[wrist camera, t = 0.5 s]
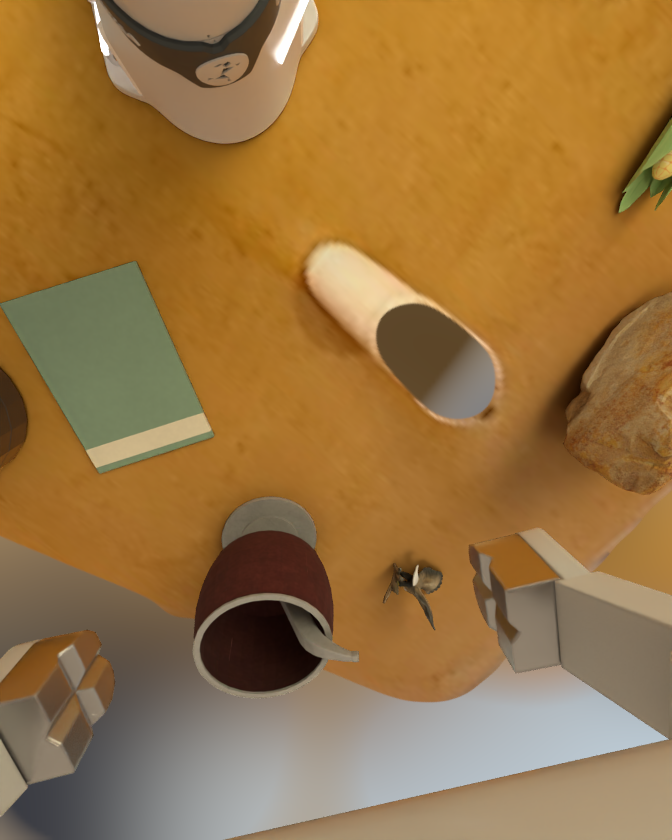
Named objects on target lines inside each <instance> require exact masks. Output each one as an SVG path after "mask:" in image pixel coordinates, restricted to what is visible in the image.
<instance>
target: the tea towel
mask: <svg viewBox="0 0 672 840" xmlns="http://www.w3.org/2000/svg"><path fill="white" fill-rule="evenodd" d="M0 306H1V308H2V309H3V311H4V313H5V314H6V316H7V318H8V320H9V321H10V323H11V325H12V326H13V328H14V330H15V331H16V333H17V335H18V336H19V338H20V340H21V342H22V343H23V345H24V347H25V348H26V350H27V352H28V353H29V355H30V357H31V358H32V360H33V362H34V364H35V365H36V367H37V369H38V370H39V372H40V374H41V375H42V377H43V379H44V381H45V382H46V384H47V386H48V387H49V389H50V391H51V392H52V394H53V396H54V397H55V399H56V401H57V403H58V404H59V406H60V408H61V409H62V411H63V413H64V414H65V416H66V418H67V419H68V421H69V423H70V425H71V426H72V428H73V430H74V431H75V433H76V435H77V436H78V438H79V440H80V441H81V443H82V445H83V447H84V448H85V450H86V452H87V454H88V455H89V457H90V459H91V460H92V462H93V464H94V466H95V467H96V469H97V470H98V472H99V473H103V472H106V471H109V470H112V469H115V468H119V467H122V466H125V465H128V464H131V463H134V462H137V461H140V460H143V459H147V458H150V457H153V456H156V455H159V454H162V453H165V452H168V451H171V450H174V449H178V448H181V447H184V446H187V445H190V444H193V443H196V442H199V441H202V440H205V439H209V438H212V437H214V433H213V431H212V429H211V427H210V424H209V422H208V420H207V418H206V416H205V413H204V411H203V409H202V407H201V404H200V402H199V400H198V398H197V395H196V393H195V391H194V389H193V387H192V384H191V382H190V380H189V378H188V375H187V373H186V371H185V369H184V366H183V364H182V362H181V360H180V358H179V355H178V353H177V351H176V349H175V346H174V344H173V342H172V340H171V337H170V335H169V333H168V331H167V329H166V326H165V324H164V322H163V320H162V317H161V315H160V313H159V311H158V308H157V306H156V304H155V302H154V300H153V297H152V295H151V293H150V291H149V288H148V286H147V284H146V282H145V279H144V277H143V275H142V273H141V271H140V268H139V266H138V264H137V262H136V261H133V262H130V263H127V264H124V265H121V266H117V267H114V268H111V269H108V270H105V271H102V272H98V273H95V274H92V275H89V276H86V277H83V278H79V279H76V280H73V281H70V282H67V283H64V284H60V285H57V286H54V287H51V288H48V289H45V290H41V291H38V292H35V293H32V294H29V295H25V296H22V297H19V298H16V299H13V300H10V301H6V302H3V303H0Z"/></svg>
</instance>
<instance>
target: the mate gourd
mask: <svg viewBox="0 0 672 840" xmlns="http://www.w3.org/2000/svg"><path fill="white" fill-rule="evenodd" d="M315 544H316V529H315V525H314V522H313V520H312V518H311V516H310V515H309V513H308V512H307V511H306V510H305V509H304V508H303V507H301V506H300V505H299V504H297V503H295V502H293V501H291V500H288V499H285V498H281V497H261V498H257V499H253V500H251V501H248V502H246V503H244V504H242V505H241V506H240V507H238V508H237V509H236V510H235V511H234V512H233V513H232V514H231V515H230V516H229V518H228V519H227V521H226V523H225V526H224V529H223V533H222V546H223V550H222V551H221V553H220V554H219V556H218V557H217V559H216V560H215V562H214V563H213V565H212V566H211V568H210V570H209V572H208V574H207V576H206V578H205V580H204V583H203V586H202V589H201V592H200V596H199V599H198V603H197V607H196V615H195V627H194V646H193V656H194V662H195V664H196V666H197V668H198V671H199V672H200V673H201V675H202V676H203V677H204V678H205V680H206V681H208V682H209V683H210V684H212V685H213V686H214V687H216V688H218V689H220V690H222V691H224V692H226V693H229V694H232V695H235V696H240V697H247V698H267V697H275V696H279V695H283V694H287V693H289V692H292V691H294V690H297V689H299V688H300V687H302V686H304V685H305V684H307V683H309V682H310V681H311V680H312V679H313V678H315V677H316V676H317V675H318V674H319V673H320V672H321V670H322V669H323V668H324V667H325V665H326V663H327V661H328V659H330V660H338V661H347V662H348V661H352V662H359V651H349V650H347V649H344V648H342V647H340V646H338V645H337V644H335V643H333V642H332V635H333V600H332V593H331V587H330V584H329V580H328V577H327V574H326V571H325V569H324V566H323V564H322V562H321V560H320V559H319V557H318V555H317V553H316V551H315V550H314V548H315Z"/></svg>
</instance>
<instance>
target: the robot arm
mask: <svg viewBox="0 0 672 840" xmlns="http://www.w3.org/2000/svg"><path fill="white" fill-rule="evenodd" d="M87 1H88V2H90V3H91V5H92V9H93V14H94V18H95V22H96V26H97V31H98V35H99V39H100V44H101V51H102V52H103V56H104V60H105V64H106V68H107V72H108V75H109V77H110V79H111V81H112V82H113V84H114V86H115V87H116V88H117V89H118V90H119V91H121V92H122V93H124V94H126V95H128V96H130V97H133V98H135V99H138V100H140V101H143V102H146V103H149V104H150V105H151V106H153V107H154V108H155V109H157V110H158V111H159V112H160V113H161V114H162V115H163V116H164V117H166V118H167V119H168V120H169V121H170V122H171V123H172V124H174V125H175V126H176V127H178V128H179V129H181V130H182V131H184V132H186V133H187V134H189V135H191V136H193V137H196V138H198V139H201V140H204V141H208V142H213V143H221V144H229V143H237V142H241V141H245V140H248V139H250V138H253V137H255V136H256V135H258V134H260V133H261V132H263V131H264V130H266V129H267V128H268V127H269V126H270V125H271V124H272V123H273V122H274V121H275V120H276V119H277V118H278V116H279V115H280V113H281V112H282V110H283V109H284V107H285V105H286V103H287V101H288V99H289V97H290V94H291V91H292V88H293V85H294V81H295V76H296V72H297V67H298V64H299V60H300V58H301V55H302V54H303V53H304V51H305V50H306V48H307V47H308V45H309V44H310V43H311V41H312V39H313V38H314V36H315V34H316V31H317V28H318V12H317V8H316V5H315V3H314V0H87ZM116 60H117V61H116ZM469 558H470V563H471V564H472V566H473V568H474V569H475V571H476V572H477V573H476V575H475V576H474V578H473V585H474V591H475V595H476V599H477V602H478V605H479V608H480V611H481V613H482V615H483V617H484V619H485V621H486V623H487V625H488V626H489V627H490V628H492V629H493V630H495V631H497V635H498V642H499V646H500V647H501V649H502V651H503V653H504V654H505V656H506V658H507V659H508V661H509V663H510V665H511V666H512V668H513V670H514V672H515V673H520V672H526V671H531V670H536V669H541V668H546V667H552V666H557V665H561V666H562V668H564V669H565V670H567V671H568V672H570V673H571V674H573V675H574V676H576V677H577V678H579V679H580V680H582V681H583V682H585V683H586V684H588V685H589V686H590V687H592V688H594V689H595V690H597V691H598V692H599V693H601V694H602V695H604V696H605V697H607V698H609V699H610V700H612V701H613V702H615V703H616V704H617V705H619V706H620V707H622V708H623V709H625V710H626V711H628V712H630V713H631V714H632V715H634V716H635V717H637V718H638V719H640V720H641V721H643V722H644V723H646V724H647V725H649V726H650V727H652V728H653V729H655V730H656V731H658V732H659V733H661V734H662V735H664V736H665V737H667V738H668V739H669V740H664V741H660V742H656V743H651V744H647V745H642V746H638V747H633V748H629V749H625V750H620V751H615V752H611V753H606V754H602V755H597V756H593V757H589V758H584V759H580V760H575V761H571V762H567V763H562V764H558V765H553V766H549V767H544V768H540V769H535V770H531V771H526V772H522V773H518V774H513V775H509V776H504V777H500V778H495V779H491V780H487V781H482V782H478V783H473V784H469V785H464V786H460V787H456V788H451V789H447V790H442V791H438V792H433V793H429V794H425V795H420V796H416V797H411V798H407V799H402V800H398V801H393V802H389V803H385V804H380V805H376V806H371V807H367V808H362V809H358V810H354V811H349V812H345V813H340V814H336V815H331V816H327V817H323V818H318V819H314V820H310V821H305V822H301V823H296V824H292V825H287V826H283V827H278V828H274V829H270V830H266V831H261V832H256V833H252V834H248V835H243V836H238V837H234V838H230V839H225V840H672V595H669V594H666V593H663V592H659V591H657V590H654V589H651V588H647V587H645V586H641V585H639V584H636V583H633V582H629V581H626V580H623V579H620V578H617V577H614V576H611V575H608V574H605V573H602V572H599V571H597V572H592V573H590V572H589V571H588V570H587V569H586V568H585V567H584V566H583V565H582V564H581V563H579V562H578V561H577V560H576V559H575V558H574V557H573V556H572V555H571V554H569V553H568V552H567V551H566V550H565V549H564V548H563V547H562V546H561V545H559V544H558V543H557V542H556V541H555V540H554V539H553V538H552V537H551V536H550V535H548V534H547V533H546V532H545V531H544V530H543V529H540V528H534V529H530V530H526V531H522V532H519V533H515V534H513V535H509V536H505V537H501V538H496V539H492V540H488V541H484V542H480V543H475V544H471V545H469ZM101 645H102V644H101V642H100V640H99V638H98V636H97V635H96V632H93V631H90V630H84V631H80V632H74V633H70V634H64V635H59V636H54V637H50V638H44V639H42V640H35V641H31V642H26V643H22V644H19V645H17V646H14V647H12V648H10V649H9V650H8V651H7V652H6V654H5V655H4V656H3V657H2V658H1V659H0V817H1V816H2V815H3V814H4V813H5V811H7V810H8V809H9V807H10V806H11V805H12V804H13V803H14V802H15V801H16V800H17V799H18V798H19V797H20V795H21V794H22V793H23V792H24V791H25V790H26V789H27V788H28V786H27V785H29V784H33V783H36V782H40V781H44V780H48V779H52V778H56V777H59V776H63V775H67V774H71V773H74V772H75V769H76V768H77V766H78V764H79V762H80V760H81V758H82V757H83V755H84V753H85V751H86V749H87V747H88V745H89V743H90V741H91V739H92V737H93V731H92V725H93V724H94V723H95V722H96V721H97V720H98V719H100V718H101V717H102V715H104V714H105V712H106V710H107V708H108V706H109V704H110V702H111V700H112V697H113V691H114V685H115V679H114V672H113V669H112V667H111V664H110V662H109V661H108V660H106V659H105V658H103V657H102V656H100V655H98V654H99V651H100V648H101Z"/></svg>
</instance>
